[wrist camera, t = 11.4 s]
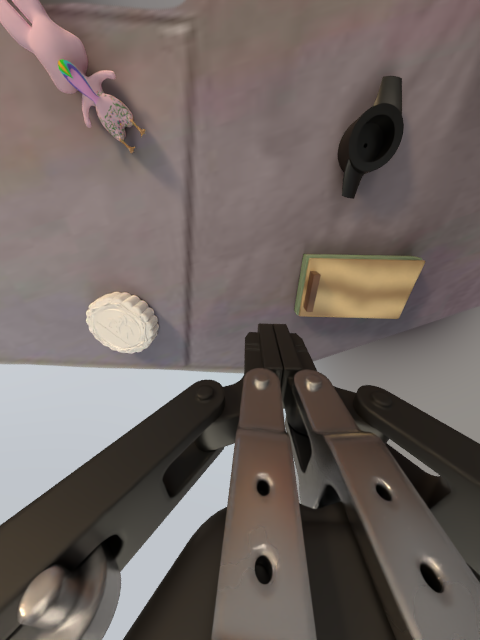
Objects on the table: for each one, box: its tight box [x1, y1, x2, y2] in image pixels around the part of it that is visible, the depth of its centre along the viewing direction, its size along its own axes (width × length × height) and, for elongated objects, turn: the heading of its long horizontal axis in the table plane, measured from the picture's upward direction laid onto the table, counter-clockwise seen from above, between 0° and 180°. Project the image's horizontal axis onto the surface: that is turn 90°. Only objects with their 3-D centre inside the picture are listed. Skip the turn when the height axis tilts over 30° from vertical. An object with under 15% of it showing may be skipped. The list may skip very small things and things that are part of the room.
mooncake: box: [86, 292, 159, 354], centre depth 35 cm, size 12×12×4 cm
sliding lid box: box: [294, 254, 422, 315], centre depth 32 cm, size 10×17×2 cm, turn 89°
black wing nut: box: [338, 76, 404, 198], centre depth 23 cm, size 8×10×3 cm
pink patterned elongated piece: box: [0, 0, 146, 155], centre depth 19 cm, size 6×6×15 cm
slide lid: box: [299, 258, 425, 319], centre depth 29 cm, size 10×17×3 cm, turn 89°
